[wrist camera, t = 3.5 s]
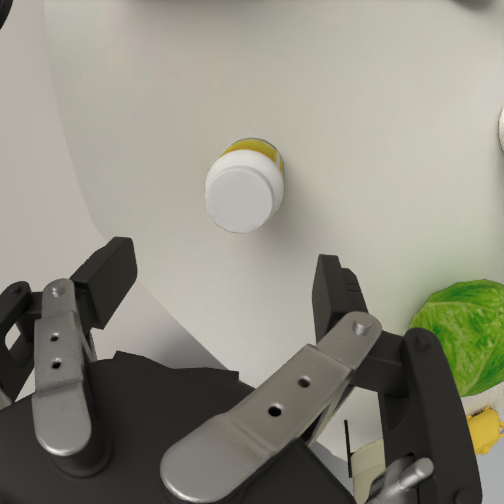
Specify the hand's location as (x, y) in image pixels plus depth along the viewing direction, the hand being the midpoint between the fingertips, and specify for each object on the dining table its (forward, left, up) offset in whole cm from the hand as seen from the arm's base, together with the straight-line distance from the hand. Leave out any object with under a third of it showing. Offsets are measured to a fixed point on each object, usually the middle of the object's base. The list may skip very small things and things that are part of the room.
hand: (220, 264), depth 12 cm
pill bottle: (-1, 0, -20) cm, 20 cm away
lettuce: (+13, -31, -20) cm, 39 cm away
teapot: (+16, -83, -20) cm, 87 cm away
